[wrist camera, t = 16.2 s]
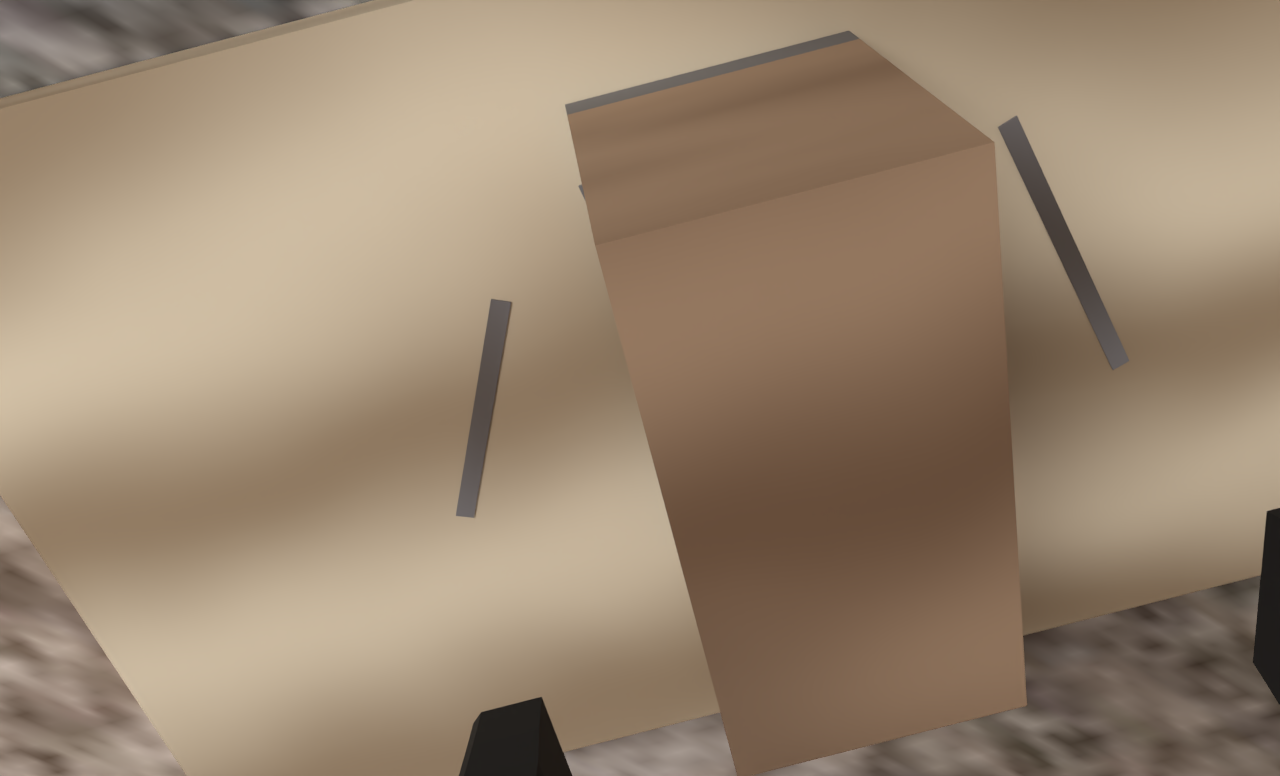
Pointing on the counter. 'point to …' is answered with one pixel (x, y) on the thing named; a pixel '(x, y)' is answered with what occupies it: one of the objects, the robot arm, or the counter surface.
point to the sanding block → (819, 387)
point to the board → (568, 351)
